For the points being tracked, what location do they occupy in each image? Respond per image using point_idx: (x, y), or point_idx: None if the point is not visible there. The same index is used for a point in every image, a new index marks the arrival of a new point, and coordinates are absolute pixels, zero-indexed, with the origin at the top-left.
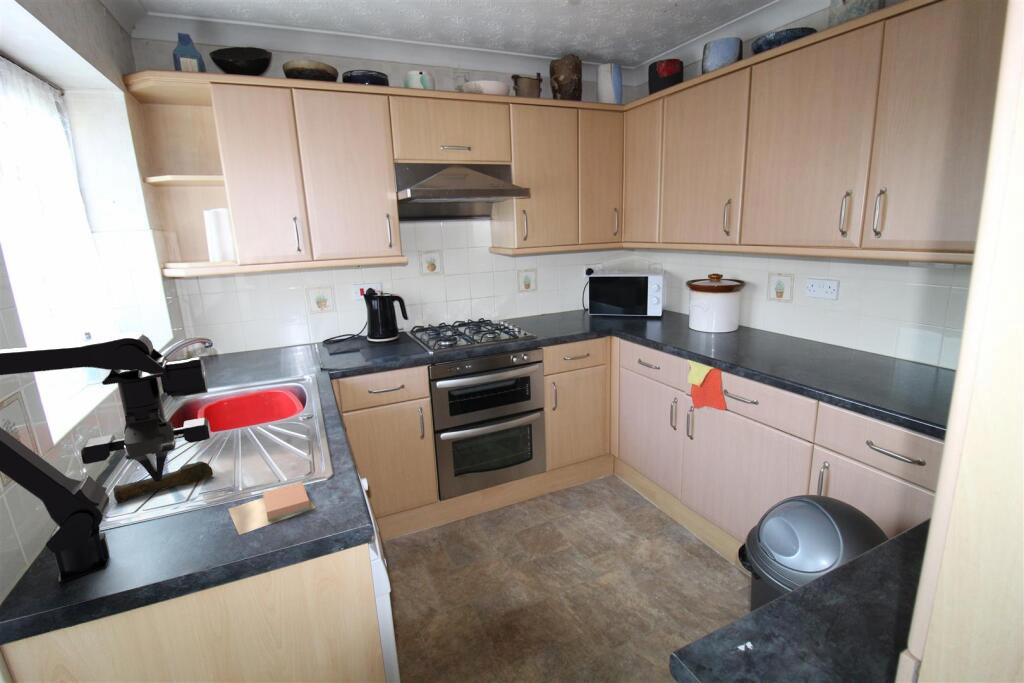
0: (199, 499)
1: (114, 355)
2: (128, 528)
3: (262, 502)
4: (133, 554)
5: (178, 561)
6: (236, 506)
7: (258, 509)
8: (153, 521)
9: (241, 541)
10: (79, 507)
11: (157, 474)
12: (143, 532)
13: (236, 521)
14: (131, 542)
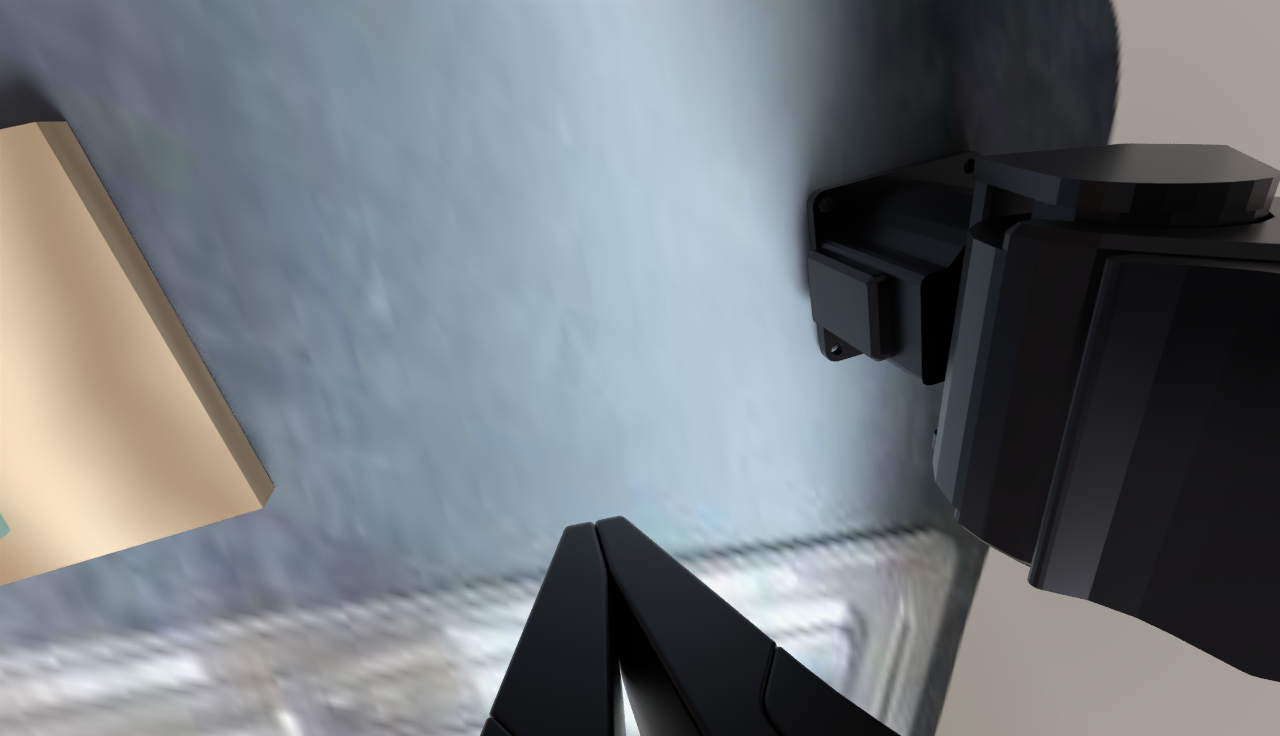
0: (492, 671)
1: None
2: (760, 518)
3: (18, 516)
4: (706, 271)
5: (449, 58)
6: (211, 520)
7: (12, 435)
8: (667, 542)
9: (50, 102)
10: (1277, 230)
11: (601, 590)
12: (694, 461)
13: (138, 331)
14: (731, 392)
